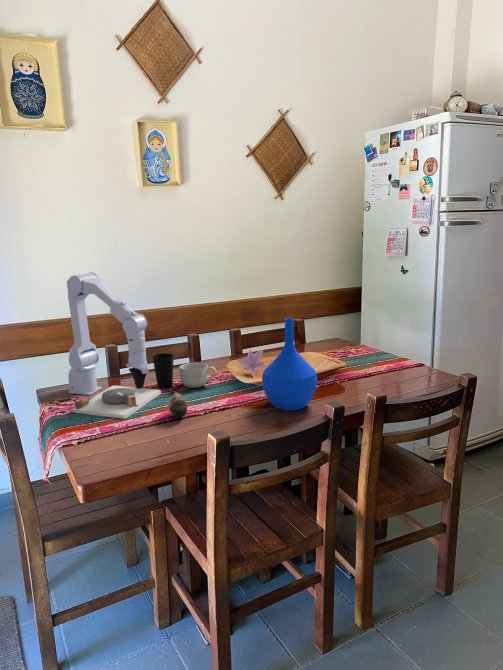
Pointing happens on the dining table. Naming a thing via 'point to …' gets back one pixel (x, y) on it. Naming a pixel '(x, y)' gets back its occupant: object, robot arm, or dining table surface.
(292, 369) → the vase
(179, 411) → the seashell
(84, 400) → the screwdriver
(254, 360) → the lily
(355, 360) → the dining table surface
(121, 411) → the board
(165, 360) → the cup
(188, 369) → the teacup
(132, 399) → the grey handled disc
